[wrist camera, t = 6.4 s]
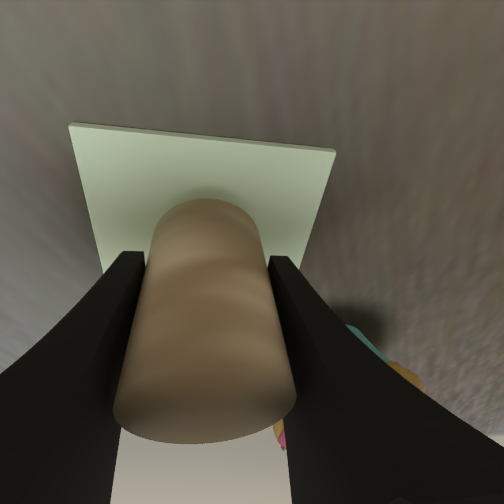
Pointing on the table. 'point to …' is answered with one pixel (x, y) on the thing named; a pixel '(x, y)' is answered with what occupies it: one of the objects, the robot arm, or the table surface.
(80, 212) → the table surface
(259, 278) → the tan wooden cylinder
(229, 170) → the mat
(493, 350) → the table surface
